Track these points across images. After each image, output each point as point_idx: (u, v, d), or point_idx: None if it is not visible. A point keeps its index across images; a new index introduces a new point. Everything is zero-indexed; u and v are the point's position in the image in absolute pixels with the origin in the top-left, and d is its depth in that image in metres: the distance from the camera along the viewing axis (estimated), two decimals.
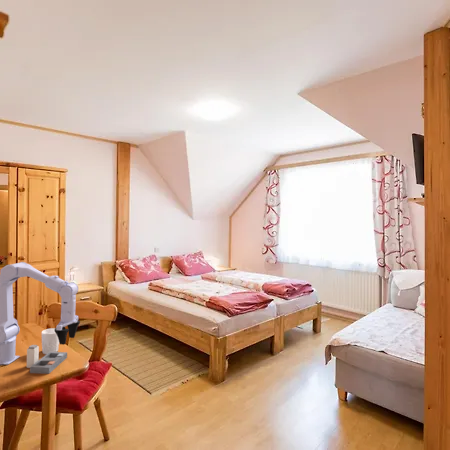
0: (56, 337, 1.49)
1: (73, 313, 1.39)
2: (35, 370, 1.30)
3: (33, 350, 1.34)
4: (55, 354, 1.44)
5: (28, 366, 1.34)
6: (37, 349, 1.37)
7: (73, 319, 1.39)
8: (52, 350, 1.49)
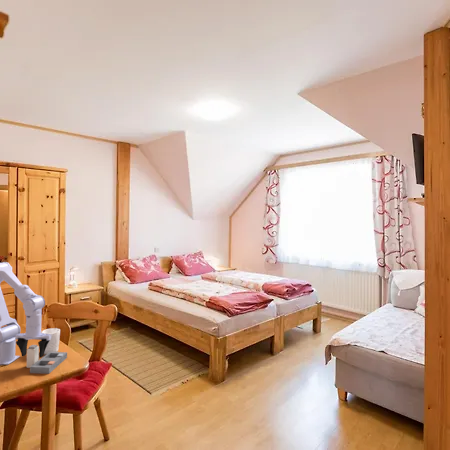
0: (56, 337, 1.49)
1: (28, 329, 1.33)
2: (35, 370, 1.30)
3: (33, 350, 1.34)
4: (55, 354, 1.44)
5: (28, 366, 1.34)
6: (37, 349, 1.37)
7: (28, 335, 1.33)
8: (52, 350, 1.49)
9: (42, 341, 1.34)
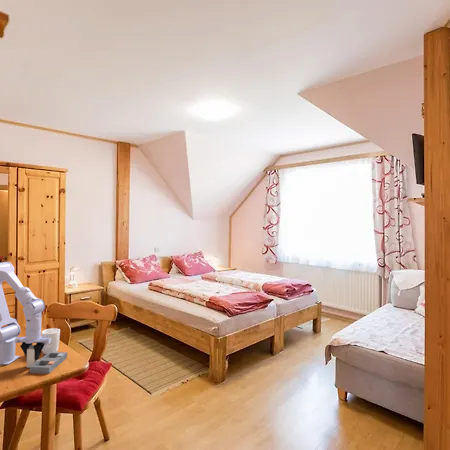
0: (56, 337, 1.49)
1: (28, 332, 1.33)
2: (35, 370, 1.30)
3: (33, 350, 1.34)
4: (55, 354, 1.44)
5: (28, 366, 1.34)
6: None
7: (28, 339, 1.33)
8: (52, 350, 1.49)
9: (37, 345, 1.34)
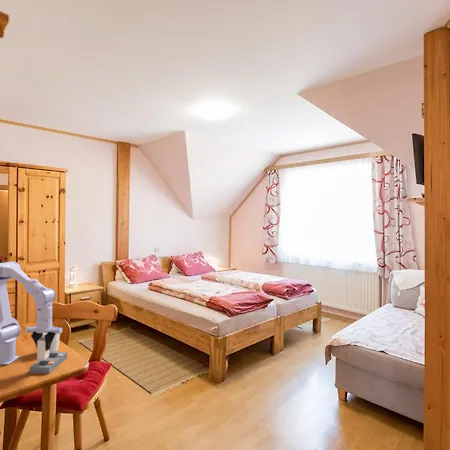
0: (56, 337, 1.49)
1: (39, 322, 1.31)
2: (35, 370, 1.30)
3: (44, 342, 1.32)
4: (55, 354, 1.44)
5: (38, 358, 1.32)
6: None
7: (39, 328, 1.31)
8: (52, 350, 1.49)
9: (48, 334, 1.32)
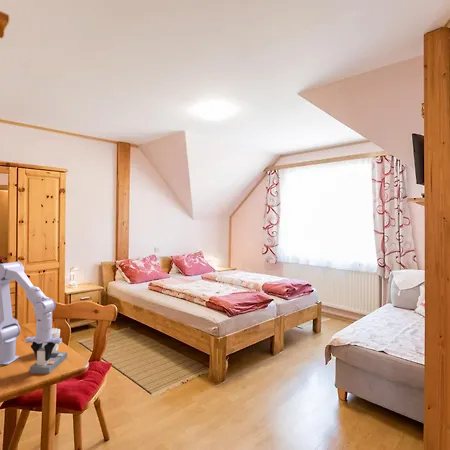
0: None
1: (38, 332, 1.31)
2: (35, 370, 1.30)
3: (43, 352, 1.32)
4: (55, 354, 1.44)
5: None
6: None
7: (39, 339, 1.31)
8: (52, 350, 1.49)
9: (48, 345, 1.32)
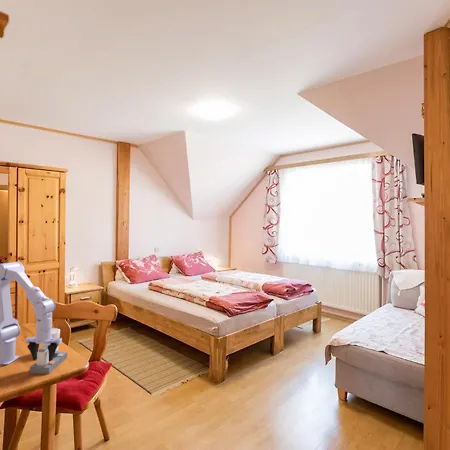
0: (56, 337, 1.49)
1: (38, 332, 1.31)
2: (35, 370, 1.30)
3: (43, 353, 1.32)
4: (55, 354, 1.44)
5: None
6: (47, 352, 1.34)
7: (39, 339, 1.31)
8: None
9: (51, 345, 1.32)
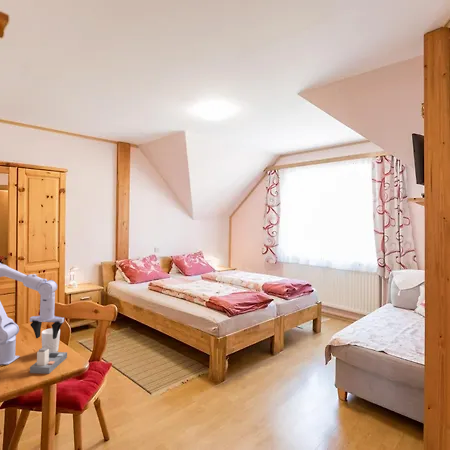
0: None
1: (42, 311, 1.38)
2: (35, 370, 1.30)
3: (43, 353, 1.32)
4: (55, 354, 1.44)
5: None
6: (47, 352, 1.34)
7: (42, 317, 1.38)
8: (52, 350, 1.49)
9: (55, 324, 1.39)
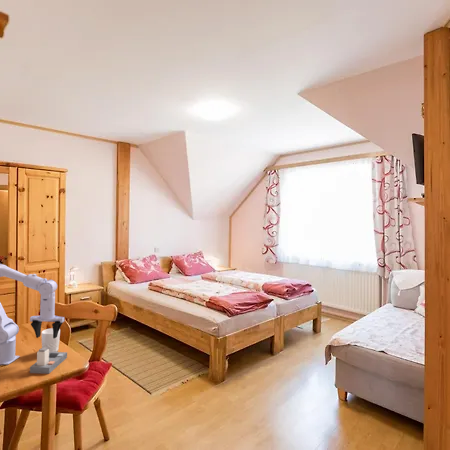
0: (56, 337, 1.49)
1: (42, 311, 1.39)
2: (35, 370, 1.30)
3: (43, 353, 1.32)
4: (55, 354, 1.44)
5: None
6: (47, 352, 1.34)
7: (42, 317, 1.39)
8: (52, 350, 1.49)
9: (56, 323, 1.40)
